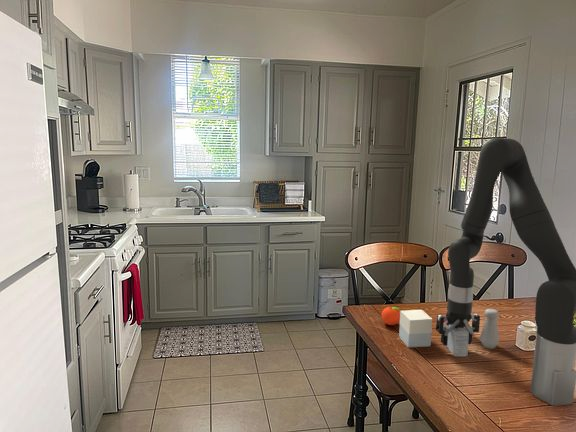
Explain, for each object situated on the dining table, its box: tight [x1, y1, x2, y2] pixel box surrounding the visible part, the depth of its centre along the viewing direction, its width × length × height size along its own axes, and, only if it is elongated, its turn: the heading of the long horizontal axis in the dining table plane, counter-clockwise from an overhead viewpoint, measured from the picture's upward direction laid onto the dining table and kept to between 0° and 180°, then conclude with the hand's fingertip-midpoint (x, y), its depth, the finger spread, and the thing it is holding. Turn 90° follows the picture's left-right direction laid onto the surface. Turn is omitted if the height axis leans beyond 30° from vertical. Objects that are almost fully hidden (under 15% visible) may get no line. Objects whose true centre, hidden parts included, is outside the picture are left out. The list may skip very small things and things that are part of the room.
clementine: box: [381, 306, 401, 326], centre depth 155 cm, size 8×7×7 cm
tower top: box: [399, 309, 433, 334], centre depth 141 cm, size 8×8×5 cm
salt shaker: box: [479, 308, 500, 350], centre depth 138 cm, size 6×6×13 cm
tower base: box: [398, 324, 432, 348], centre depth 142 cm, size 8×8×5 cm
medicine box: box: [446, 324, 469, 357], centre depth 135 cm, size 8×4×9 cm, turn 179°
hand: (456, 344), depth 135 cm, fingers open, 7 cm apart
